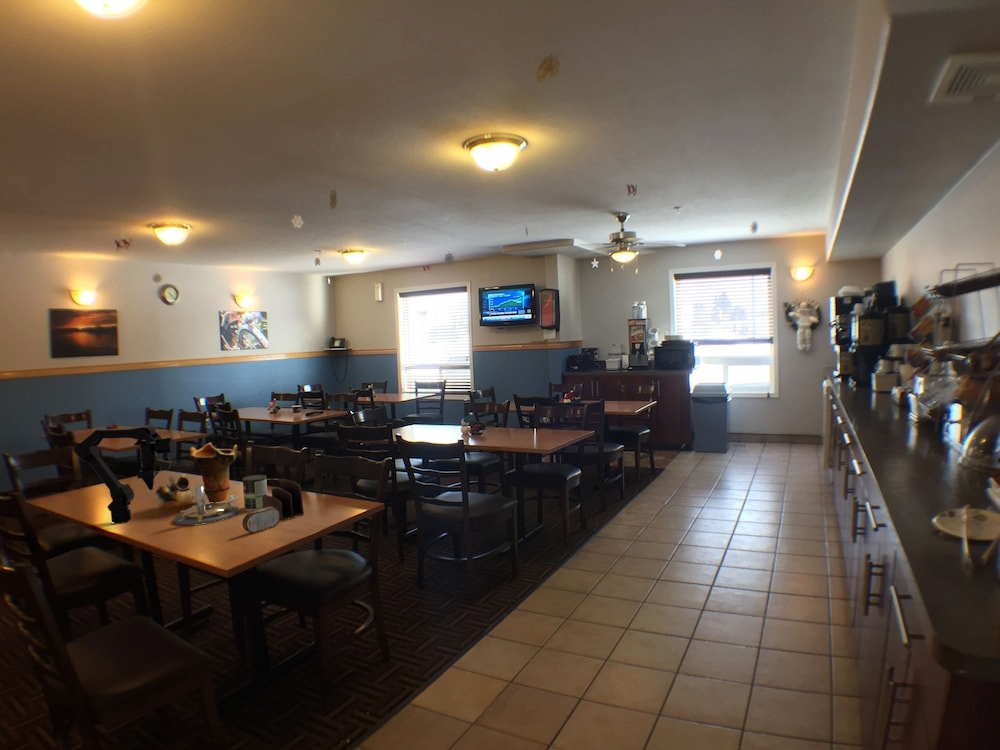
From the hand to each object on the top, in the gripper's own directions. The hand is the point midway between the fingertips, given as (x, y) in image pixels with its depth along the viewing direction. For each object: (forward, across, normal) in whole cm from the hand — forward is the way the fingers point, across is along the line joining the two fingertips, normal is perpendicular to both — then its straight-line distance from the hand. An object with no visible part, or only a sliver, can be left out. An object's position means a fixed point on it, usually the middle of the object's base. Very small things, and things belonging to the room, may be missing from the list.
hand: (151, 489), depth 259 cm
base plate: (+13, -8, -22) cm, 27 cm away
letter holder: (+14, -22, -53) cm, 59 cm away
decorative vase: (+13, +19, -24) cm, 33 cm away
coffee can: (+13, -5, -42) cm, 44 cm away
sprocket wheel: (+11, -8, -22) cm, 26 cm away
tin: (+13, -42, -45) cm, 63 cm away
